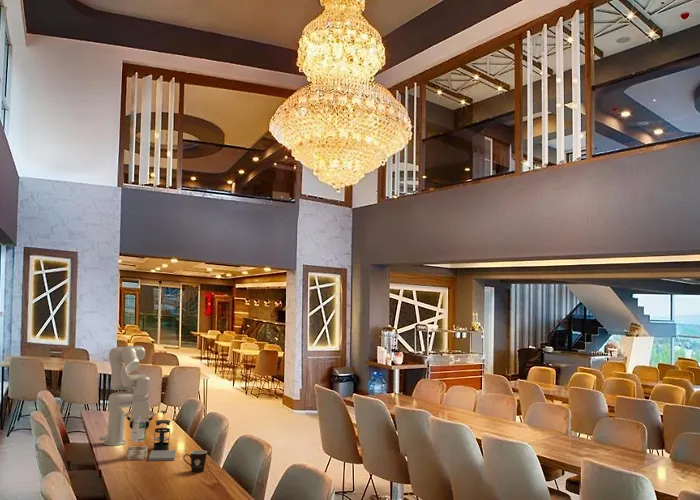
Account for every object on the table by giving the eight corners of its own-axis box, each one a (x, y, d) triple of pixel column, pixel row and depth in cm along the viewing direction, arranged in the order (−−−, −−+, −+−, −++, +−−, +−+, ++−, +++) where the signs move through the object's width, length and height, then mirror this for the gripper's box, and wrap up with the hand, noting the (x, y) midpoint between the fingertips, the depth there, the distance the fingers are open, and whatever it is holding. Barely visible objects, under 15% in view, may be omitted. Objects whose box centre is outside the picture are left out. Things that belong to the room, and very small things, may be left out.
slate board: (148, 461, 328) (148, 458, 328) (151, 453, 346) (151, 450, 346) (174, 460, 332) (174, 457, 332) (175, 452, 349) (175, 450, 349)
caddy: (126, 459, 329) (127, 450, 330) (128, 455, 339) (129, 446, 340) (145, 459, 332) (146, 450, 332) (147, 454, 342) (147, 446, 342)
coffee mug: (208, 470, 316) (210, 451, 317) (199, 474, 307) (201, 454, 309) (190, 467, 319) (192, 448, 320) (181, 471, 311) (182, 452, 312)
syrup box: (137, 442, 333) (139, 416, 334) (130, 440, 336) (132, 415, 337) (145, 441, 338) (147, 415, 339) (138, 439, 341) (141, 414, 342)
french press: (169, 450, 353) (172, 412, 355) (153, 451, 349) (156, 412, 352) (168, 446, 364) (170, 409, 366) (152, 447, 360) (155, 409, 363)
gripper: (125, 398, 333) (122, 429, 332) (156, 399, 337) (154, 430, 336) (126, 396, 340) (124, 427, 339) (157, 397, 345) (155, 427, 343)
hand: (139, 428), depth 337 cm, fingers closed on syrup box, 8 cm apart
